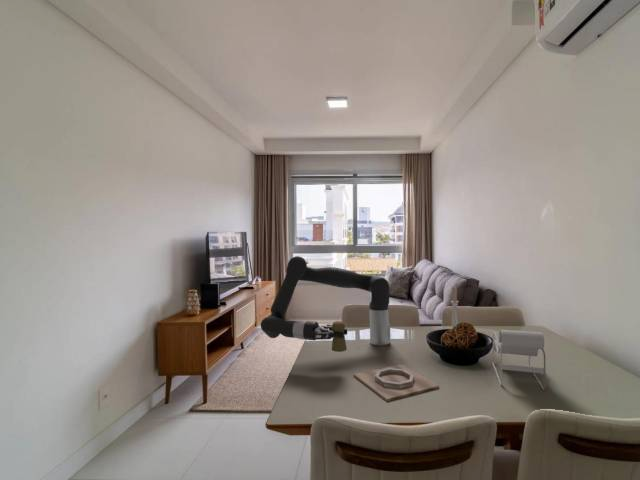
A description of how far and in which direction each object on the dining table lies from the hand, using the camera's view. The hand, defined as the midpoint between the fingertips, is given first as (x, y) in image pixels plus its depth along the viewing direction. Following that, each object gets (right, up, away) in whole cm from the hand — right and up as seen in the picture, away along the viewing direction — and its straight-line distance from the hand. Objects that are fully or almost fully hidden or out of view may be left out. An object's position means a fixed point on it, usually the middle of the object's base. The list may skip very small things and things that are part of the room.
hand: (345, 333), depth 134 cm
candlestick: (+53, -14, +22) cm, 59 cm away
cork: (-2, -7, +1) cm, 7 cm away
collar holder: (+18, -15, -10) cm, 25 cm away
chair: (+64, -14, -7) cm, 66 cm away
